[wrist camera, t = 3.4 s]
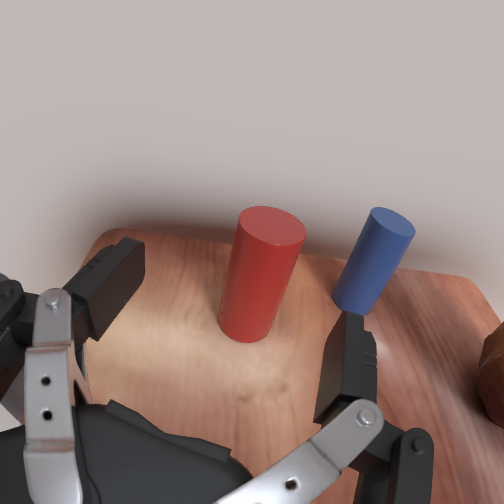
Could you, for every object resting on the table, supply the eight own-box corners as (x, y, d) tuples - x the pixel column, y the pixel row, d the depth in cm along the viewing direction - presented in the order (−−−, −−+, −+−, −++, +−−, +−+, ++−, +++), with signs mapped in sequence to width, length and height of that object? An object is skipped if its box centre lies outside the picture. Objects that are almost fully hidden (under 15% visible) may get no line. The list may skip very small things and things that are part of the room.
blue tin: (334, 312, 32) (378, 228, 26) (330, 281, 37) (366, 202, 30) (374, 319, 33) (422, 241, 26) (366, 289, 37) (406, 214, 30)
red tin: (214, 336, 27) (234, 235, 20) (222, 297, 31) (242, 200, 24) (268, 347, 27) (308, 251, 21) (271, 307, 31) (304, 214, 25)
